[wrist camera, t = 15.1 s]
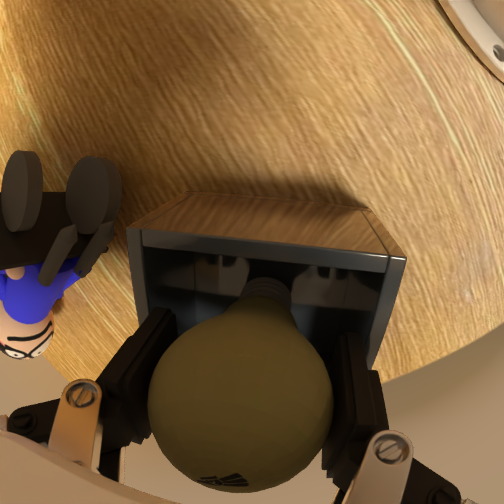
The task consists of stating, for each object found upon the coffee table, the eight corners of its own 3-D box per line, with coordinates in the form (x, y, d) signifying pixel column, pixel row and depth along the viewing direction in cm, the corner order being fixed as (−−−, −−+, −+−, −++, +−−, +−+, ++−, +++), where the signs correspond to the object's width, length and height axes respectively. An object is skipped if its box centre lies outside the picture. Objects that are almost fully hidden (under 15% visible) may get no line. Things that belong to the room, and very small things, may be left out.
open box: (371, 208, 13) (408, 257, 8) (338, 355, 17) (343, 433, 12) (185, 190, 14) (124, 227, 9) (191, 336, 18) (156, 404, 13)
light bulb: (264, 212, 13) (186, 387, 4) (348, 292, 14) (379, 489, 5) (191, 288, 16) (90, 448, 6) (269, 352, 16) (235, 522, 7)
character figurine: (170, 201, 15) (64, 327, 21) (82, 109, 13) (6, 264, 19) (82, 284, 8) (12, 395, 14) (-36, 133, 6) (-55, 318, 12)
